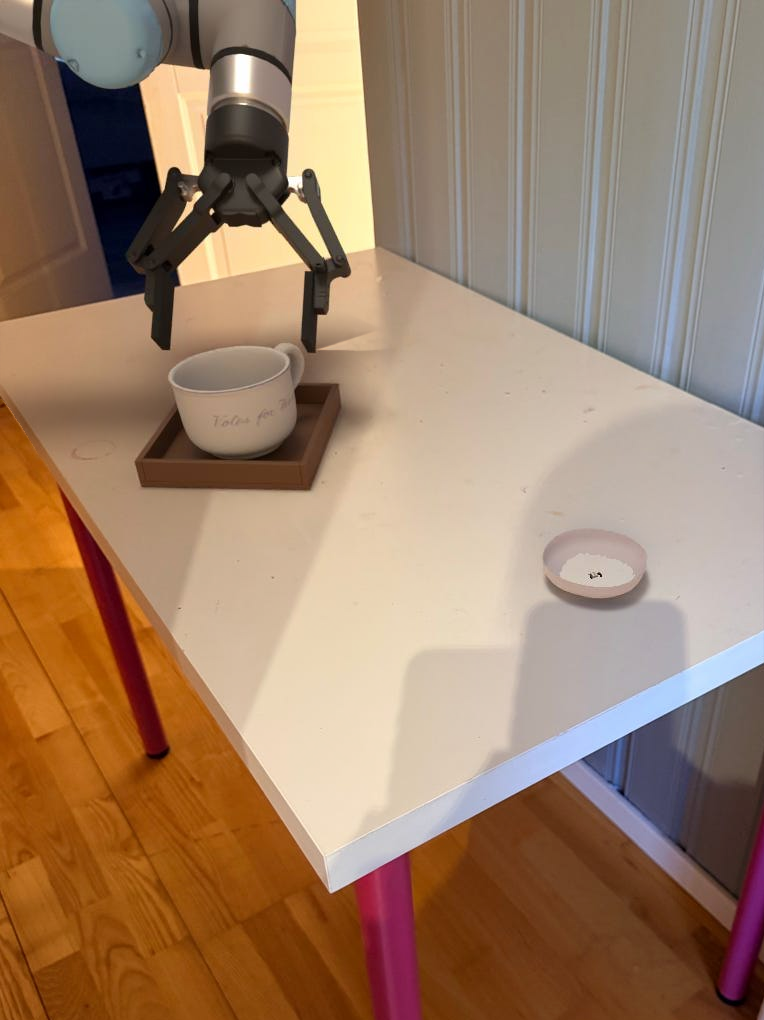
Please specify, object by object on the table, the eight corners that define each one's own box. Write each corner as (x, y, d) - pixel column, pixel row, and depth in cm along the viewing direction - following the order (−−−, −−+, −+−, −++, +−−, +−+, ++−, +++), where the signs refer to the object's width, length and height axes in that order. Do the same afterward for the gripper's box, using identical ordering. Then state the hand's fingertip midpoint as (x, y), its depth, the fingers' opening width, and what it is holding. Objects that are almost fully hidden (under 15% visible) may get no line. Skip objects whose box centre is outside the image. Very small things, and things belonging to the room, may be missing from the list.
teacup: (225, 485, 81) (208, 400, 76) (163, 445, 87) (143, 363, 82) (350, 435, 88) (342, 354, 83) (285, 401, 94) (274, 323, 89)
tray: (140, 486, 82) (134, 461, 80) (195, 403, 95) (191, 380, 93) (309, 489, 81) (306, 464, 79) (341, 406, 94) (338, 383, 93)
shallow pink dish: (664, 594, 69) (667, 574, 67) (567, 617, 66) (569, 596, 65) (615, 540, 74) (617, 520, 73) (525, 559, 72) (525, 539, 71)
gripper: (386, 153, 89) (376, 364, 86) (133, 151, 90) (117, 359, 87) (375, 100, 81) (363, 329, 79) (99, 98, 82) (80, 324, 80)
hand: (234, 345), depth 83 cm, fingers open, 13 cm apart
